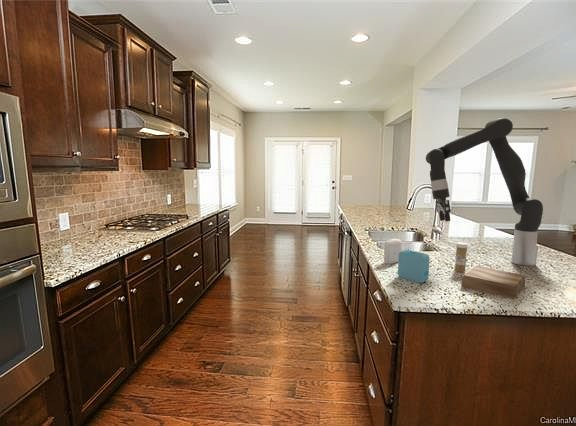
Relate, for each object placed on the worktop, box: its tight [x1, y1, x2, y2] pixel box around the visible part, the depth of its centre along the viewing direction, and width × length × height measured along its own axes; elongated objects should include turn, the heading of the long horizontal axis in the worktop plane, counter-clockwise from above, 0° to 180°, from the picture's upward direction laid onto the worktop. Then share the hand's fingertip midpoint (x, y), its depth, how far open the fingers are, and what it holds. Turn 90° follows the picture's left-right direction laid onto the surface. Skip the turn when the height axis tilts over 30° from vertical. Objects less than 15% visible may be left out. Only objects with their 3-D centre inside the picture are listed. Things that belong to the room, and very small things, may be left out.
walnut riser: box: [460, 265, 526, 301], centre depth 126 cm, size 18×18×5 cm
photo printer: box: [383, 238, 403, 265], centre depth 159 cm, size 10×4×12 cm, turn 123°
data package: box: [397, 249, 431, 284], centre depth 135 cm, size 12×4×12 cm, turn 40°
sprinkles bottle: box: [454, 241, 469, 273], centre depth 145 cm, size 5×5×13 cm
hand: (445, 220), depth 155 cm, fingers open, 8 cm apart
